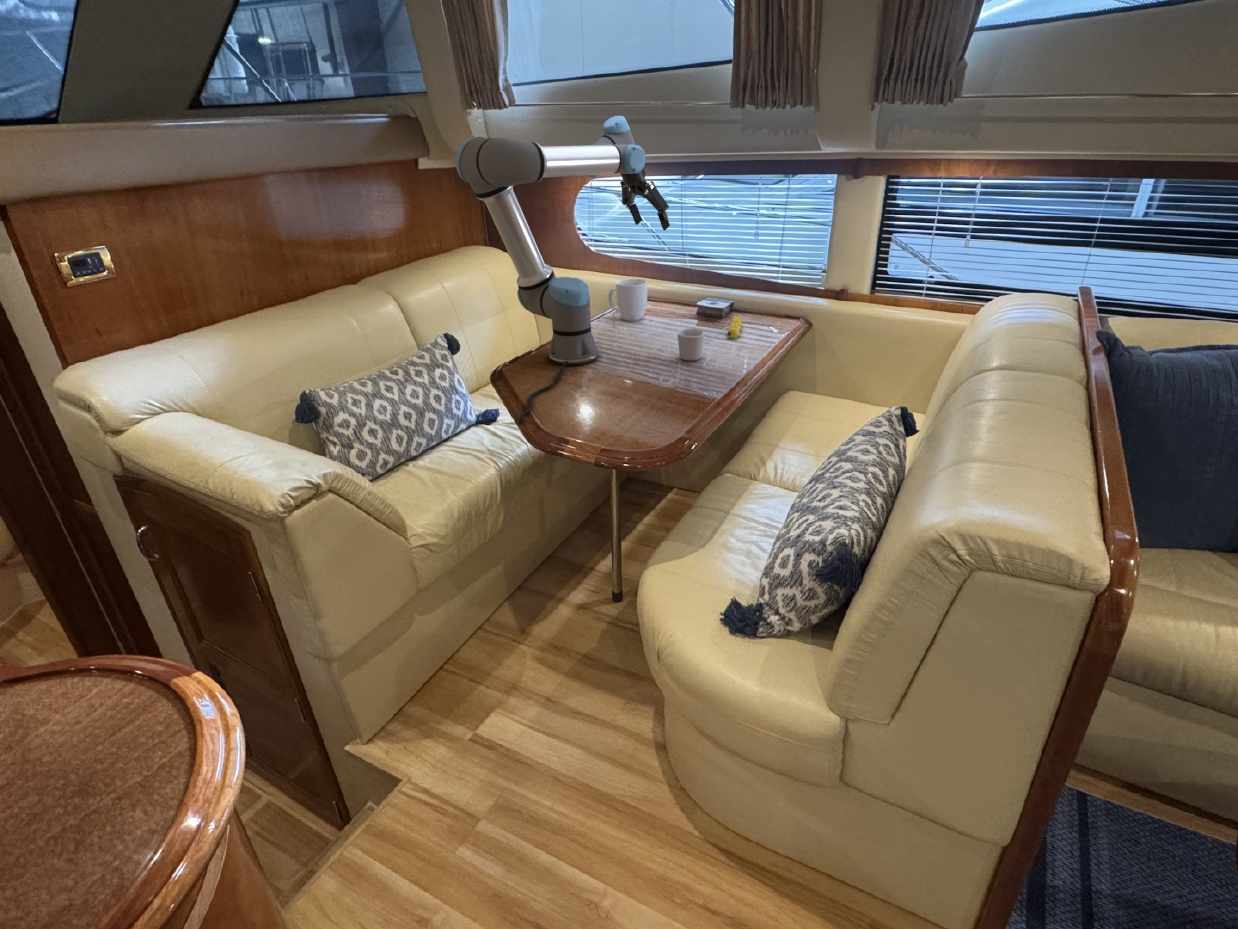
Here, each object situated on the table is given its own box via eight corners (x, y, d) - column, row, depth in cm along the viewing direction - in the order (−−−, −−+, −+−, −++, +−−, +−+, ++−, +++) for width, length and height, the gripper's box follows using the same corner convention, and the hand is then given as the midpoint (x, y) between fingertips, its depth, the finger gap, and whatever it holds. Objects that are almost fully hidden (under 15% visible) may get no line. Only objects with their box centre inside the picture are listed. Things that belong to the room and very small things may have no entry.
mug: (602, 319, 239) (600, 283, 232) (616, 311, 247) (615, 276, 241) (639, 324, 233) (638, 286, 226) (652, 315, 241) (652, 279, 235)
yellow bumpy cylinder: (738, 339, 214) (738, 329, 212) (726, 339, 215) (727, 328, 213) (742, 324, 228) (742, 314, 227) (731, 324, 229) (732, 313, 227)
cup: (688, 349, 208) (688, 324, 204) (711, 353, 204) (712, 327, 200) (672, 360, 200) (672, 334, 196) (696, 364, 196) (697, 338, 192)
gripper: (666, 163, 203) (686, 223, 218) (613, 157, 219) (635, 213, 234) (650, 177, 201) (671, 237, 216) (597, 170, 217) (621, 226, 233)
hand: (652, 225), depth 225 cm, fingers open, 13 cm apart
